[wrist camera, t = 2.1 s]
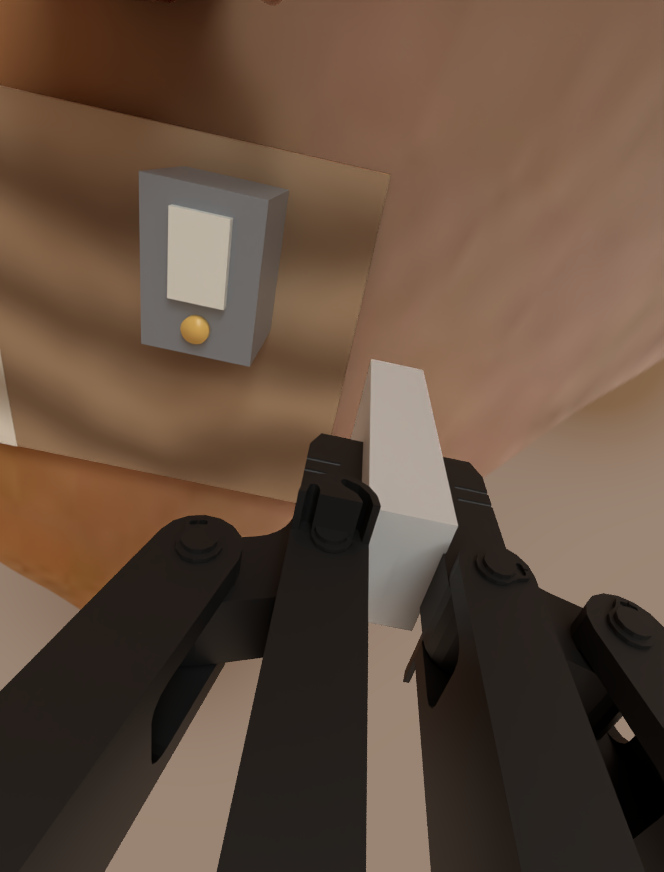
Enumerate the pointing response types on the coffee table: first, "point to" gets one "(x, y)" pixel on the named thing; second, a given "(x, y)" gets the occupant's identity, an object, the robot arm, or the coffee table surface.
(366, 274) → the board
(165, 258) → the block
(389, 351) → the coffee table surface
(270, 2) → the mug
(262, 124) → the coffee table surface
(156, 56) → the coffee table surface
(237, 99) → the coffee table surface
